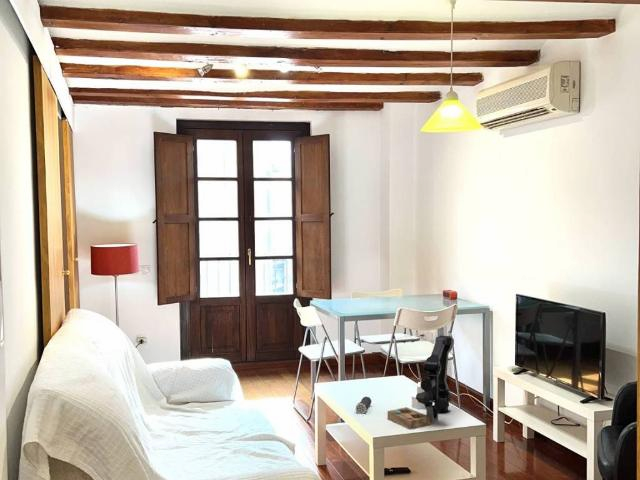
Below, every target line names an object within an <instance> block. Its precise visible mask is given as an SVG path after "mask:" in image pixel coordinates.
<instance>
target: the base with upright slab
mask: <svg viewBox="0 0 640 480" xmlns="http://www.w3.org/2000/svg"><path fill="white" fill-rule="evenodd" d="M421 382H422V381H417V385H416V387H417V388H416V393H412V394H411V407H412V408H413V409H414V410H415V409H417V410H426V408H425V405H424V404H422V403H420V402H418V400H417V399H416V395H417V394H418V393H422V392H424V390H423V389H422V388H421V385H420V384H421Z"/></svg>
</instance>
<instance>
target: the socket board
mask: <svg viewBox="0 0 640 480" xmlns="http://www.w3.org/2000/svg"><path fill="white" fill-rule="evenodd" d="M387 420H389V421H391V422H394V423H396V424H398V425H399V426H402V427H404V428H406V429H409V430H414V429H418V428H423V427H426V426H430V425H431V422H430V417H429V416H427V415H426V414H424V413H422V412H419V411H416V410H415V409H412V408H409V407H400V408H395V409H390V410H387Z"/></svg>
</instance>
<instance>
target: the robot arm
mask: <svg viewBox="0 0 640 480" xmlns="http://www.w3.org/2000/svg"><path fill="white" fill-rule="evenodd" d="M454 344H455V338H453V336H452V335H438V336H436V337H435V342H434V344H433V345H434V346H433V348H432V351H431V353H430V356H429V357H427V358H426V360H425V362H424V363H423V368H422V373H421V376H424V378H423V380H421V381H420V382H421V384H420V385H421V388H422V389H423V390H424V392H422V393H418V394H417V395H416V399H417V400H418V402H420V403H422V404H424V405H425V408H426V407H427V406H432V405H433V406H432V407H433V411H434V419H436V418H437V416H438V417H439V414H446V413H449V412H451V410H449V407H450V402H451V400H452V395H451V391H450V390H449V388H450V387H449V385H448V382H447V375H448V364H449V354H450V352H451V351H452V350H453V348H454V347H453V346H454Z"/></svg>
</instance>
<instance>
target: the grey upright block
mask: <svg viewBox="0 0 640 480" xmlns="http://www.w3.org/2000/svg"><path fill="white" fill-rule="evenodd" d="M433 405H434V404H433ZM433 405H432V406H433ZM432 406H427V407H426V409H425V410H426V414H425V415H427V416H429V417H430V424H432V423H437V422H439V415H438V416H437V418H436V419H434V411H433V407H432Z"/></svg>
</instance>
